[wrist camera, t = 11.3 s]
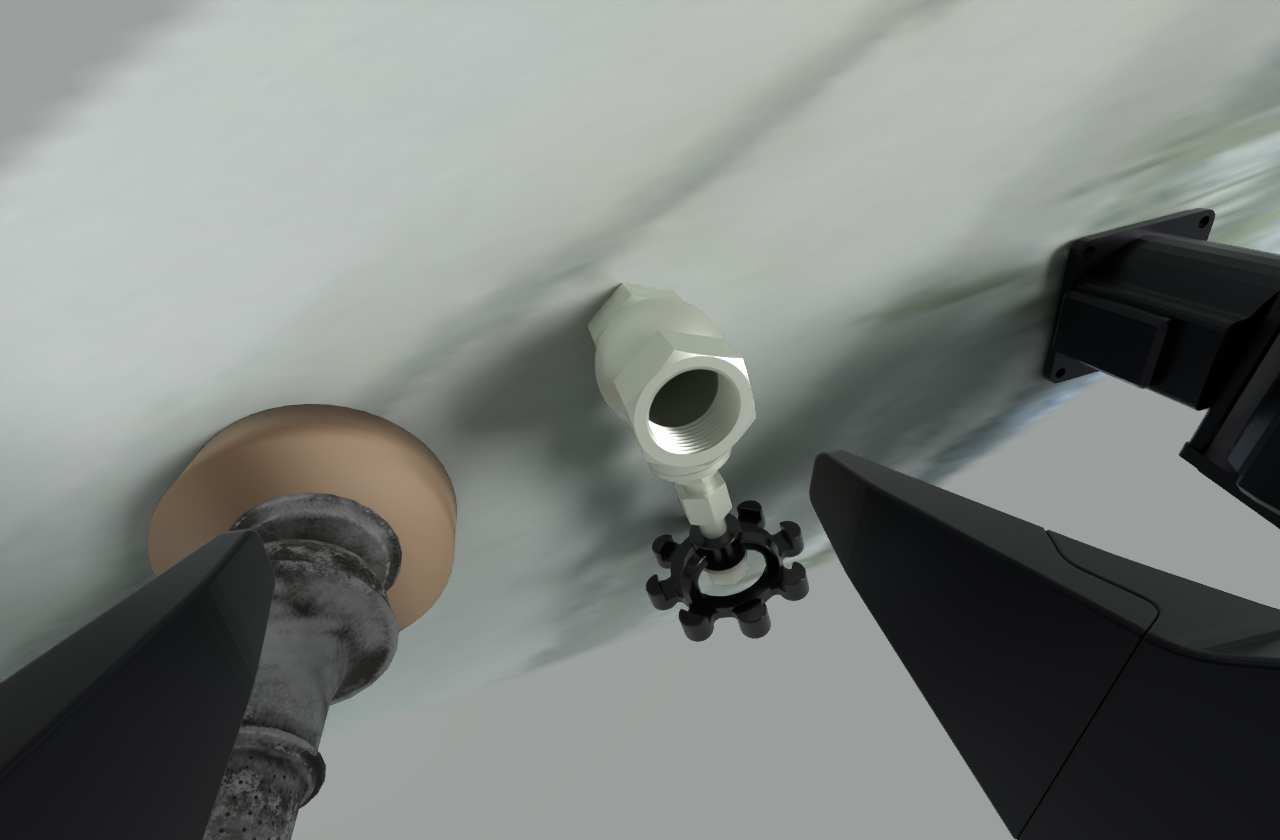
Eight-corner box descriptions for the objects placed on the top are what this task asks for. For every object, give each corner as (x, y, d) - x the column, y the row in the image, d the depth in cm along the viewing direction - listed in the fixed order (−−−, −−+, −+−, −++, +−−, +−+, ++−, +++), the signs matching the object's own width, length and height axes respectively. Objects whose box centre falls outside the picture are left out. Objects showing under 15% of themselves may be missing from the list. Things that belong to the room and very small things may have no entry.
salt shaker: (194, 487, 17) (-251, 1071, 7) (406, 482, 18) (310, 949, 8) (232, 628, 20) (-44, 1202, 9) (415, 614, 21) (351, 1091, 11)
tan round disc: (405, 375, 19) (396, 408, 17) (486, 564, 24) (486, 608, 22) (123, 445, 18) (76, 490, 16) (265, 629, 23) (242, 682, 21)
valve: (530, 311, 19) (634, 550, 26) (548, 394, 14) (676, 674, 20) (707, 242, 20) (768, 495, 26) (797, 297, 14) (846, 602, 20)
